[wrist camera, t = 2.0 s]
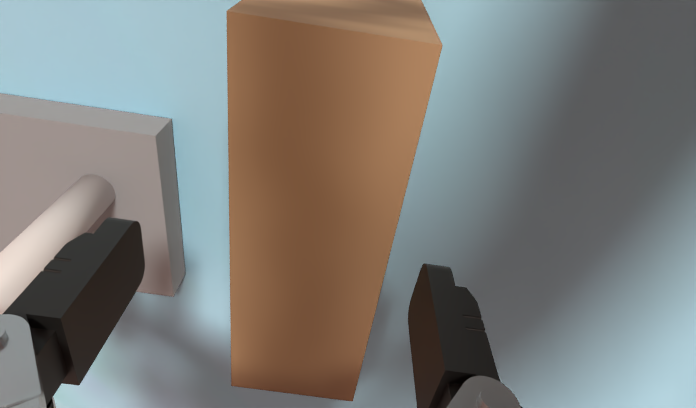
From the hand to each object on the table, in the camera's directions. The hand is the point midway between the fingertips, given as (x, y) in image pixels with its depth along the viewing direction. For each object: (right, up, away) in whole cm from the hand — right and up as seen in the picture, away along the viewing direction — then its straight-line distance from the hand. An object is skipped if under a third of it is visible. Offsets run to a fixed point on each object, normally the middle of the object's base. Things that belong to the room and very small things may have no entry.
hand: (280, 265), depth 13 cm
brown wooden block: (+1, +3, +5) cm, 6 cm away
